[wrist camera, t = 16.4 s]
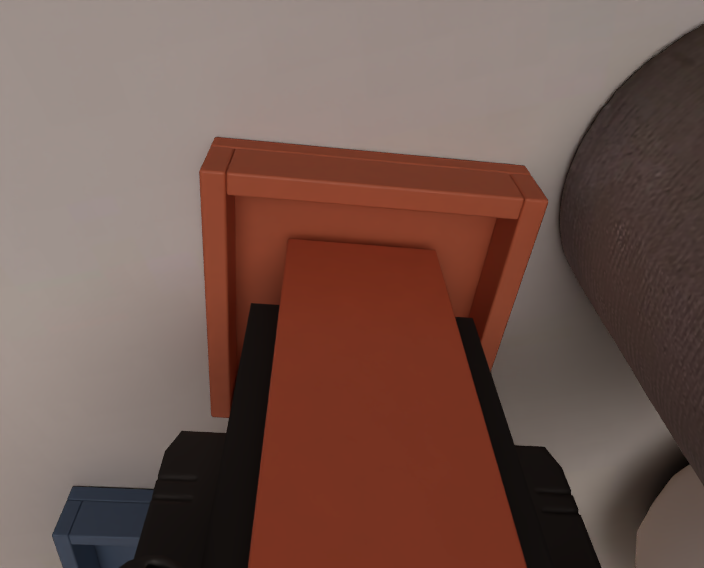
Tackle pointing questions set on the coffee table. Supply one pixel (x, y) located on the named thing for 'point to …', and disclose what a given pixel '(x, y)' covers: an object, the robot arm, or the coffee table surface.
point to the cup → (674, 525)
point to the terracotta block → (375, 422)
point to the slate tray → (101, 526)
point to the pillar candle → (648, 232)
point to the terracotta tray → (357, 230)
